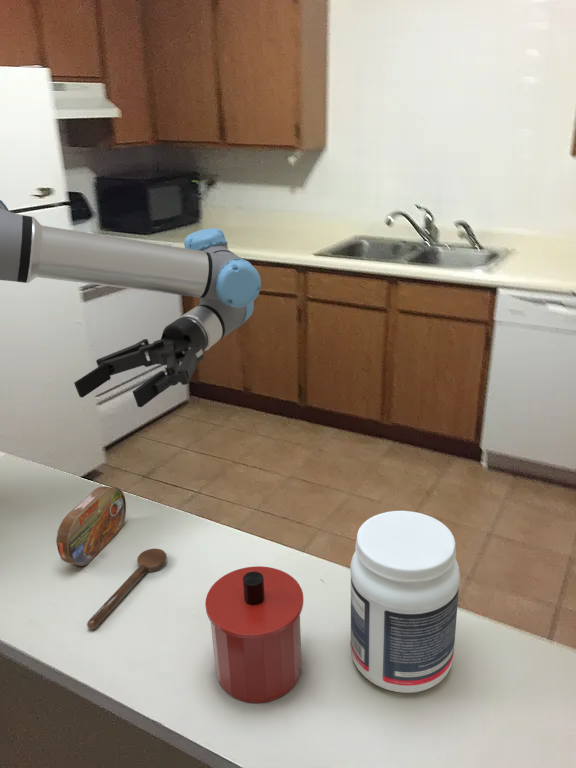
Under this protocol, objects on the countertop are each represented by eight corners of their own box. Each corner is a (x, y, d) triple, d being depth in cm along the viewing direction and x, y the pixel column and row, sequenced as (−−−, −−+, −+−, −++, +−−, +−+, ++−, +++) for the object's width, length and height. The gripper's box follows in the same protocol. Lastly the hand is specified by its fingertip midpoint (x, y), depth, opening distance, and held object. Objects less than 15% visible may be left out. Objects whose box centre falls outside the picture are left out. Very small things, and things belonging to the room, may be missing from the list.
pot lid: (187, 626, 77) (184, 598, 75) (233, 565, 87) (231, 538, 85) (280, 654, 73) (278, 625, 71) (317, 586, 82) (317, 559, 81)
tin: (75, 577, 100) (66, 531, 97) (58, 573, 101) (48, 527, 98) (130, 520, 113) (123, 478, 110) (114, 517, 114) (107, 475, 111)
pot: (201, 687, 81) (193, 621, 77) (240, 627, 90) (235, 564, 86) (281, 714, 77) (277, 646, 73) (313, 648, 86) (312, 584, 82)
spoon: (103, 636, 89) (101, 628, 89) (76, 627, 91) (75, 619, 90) (172, 557, 104) (171, 550, 103) (148, 551, 106) (147, 544, 105)
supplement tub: (467, 643, 86) (479, 525, 79) (429, 717, 76) (439, 590, 69) (376, 607, 93) (379, 495, 85) (331, 670, 83) (330, 550, 75)
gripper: (251, 359, 114) (171, 425, 100) (148, 349, 128) (64, 405, 113) (241, 319, 111) (156, 381, 96) (136, 313, 125) (48, 367, 110)
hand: (106, 394), depth 105 cm, fingers open, 13 cm apart
